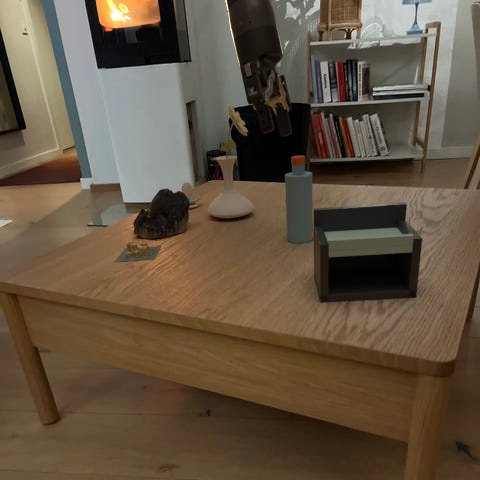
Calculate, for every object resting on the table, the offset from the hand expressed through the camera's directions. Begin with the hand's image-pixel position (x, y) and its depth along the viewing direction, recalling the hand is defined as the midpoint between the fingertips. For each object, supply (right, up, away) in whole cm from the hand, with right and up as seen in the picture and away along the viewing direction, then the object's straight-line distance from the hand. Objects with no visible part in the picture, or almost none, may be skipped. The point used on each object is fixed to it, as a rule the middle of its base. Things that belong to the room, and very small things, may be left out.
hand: (277, 133), depth 82 cm
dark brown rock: (-25, -12, +28) cm, 39 cm away
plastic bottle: (+6, -15, +15) cm, 23 cm away
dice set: (-27, -19, +15) cm, 36 cm away
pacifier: (-21, -2, +47) cm, 51 cm away
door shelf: (+13, -27, -7) cm, 30 cm away
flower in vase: (-8, -6, +36) cm, 38 cm away
